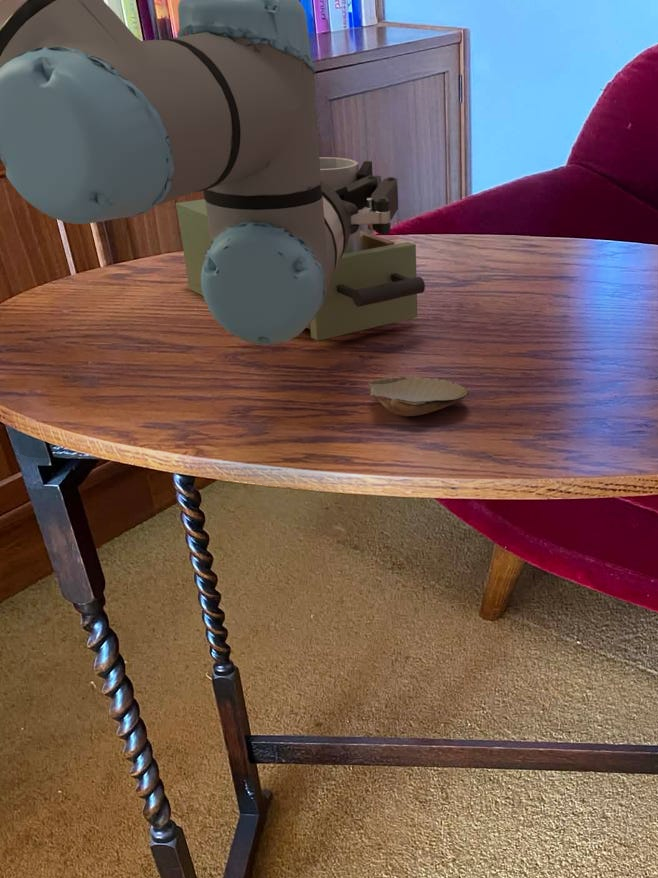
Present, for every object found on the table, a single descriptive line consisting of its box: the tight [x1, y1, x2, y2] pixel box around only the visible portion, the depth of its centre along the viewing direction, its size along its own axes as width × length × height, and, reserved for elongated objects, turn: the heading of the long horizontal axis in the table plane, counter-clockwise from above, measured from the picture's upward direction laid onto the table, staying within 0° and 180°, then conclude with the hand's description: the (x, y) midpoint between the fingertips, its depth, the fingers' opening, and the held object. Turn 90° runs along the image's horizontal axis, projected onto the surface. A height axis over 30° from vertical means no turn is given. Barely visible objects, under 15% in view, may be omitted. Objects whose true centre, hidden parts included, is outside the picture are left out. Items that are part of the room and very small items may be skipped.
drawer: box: [305, 230, 426, 342], centre depth 91 cm, size 18×11×7 cm, turn 40°
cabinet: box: [175, 198, 211, 297], centre depth 99 cm, size 15×13×9 cm
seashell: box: [367, 376, 469, 417], centre depth 76 cm, size 8×3×8 cm
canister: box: [319, 156, 363, 254], centre depth 88 cm, size 6×6×8 cm
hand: (332, 176), depth 91 cm, fingers closed on canister, 6 cm apart
